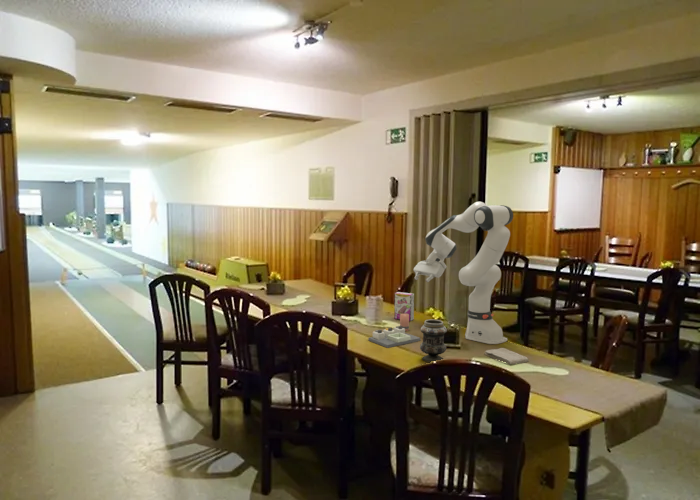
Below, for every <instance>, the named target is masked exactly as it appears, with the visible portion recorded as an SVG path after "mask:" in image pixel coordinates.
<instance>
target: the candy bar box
mask: <svg viewBox="0 0 700 500" xmlns="http://www.w3.org/2000/svg"><path fill="white" fill-rule="evenodd" d="M414 308H415V293H409V292H403V291H402V292H401V291H396V292H394V320H399V321H400V314H404V313H405V314H409V322H412V321H413V320H414V319H415V318H414V317H415V316H414V315H415V312H414V310H415V309H414Z"/></svg>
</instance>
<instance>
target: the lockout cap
mask: <svg viewBox="0 0 700 500" xmlns="http://www.w3.org/2000/svg"><path fill="white" fill-rule="evenodd" d="M399 326H402V328H404V329H405V332H408V331H410V321H409V314H405V313H404V314H400V320H399Z"/></svg>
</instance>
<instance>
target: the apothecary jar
mask: <svg viewBox="0 0 700 500" xmlns="http://www.w3.org/2000/svg"><path fill="white" fill-rule="evenodd" d="M447 331H448V329H447V328H446V326H445V325H444V321H442V320H440V319H432V318H431V319H425V320H424V324H423V325H421V327H420V332H421V334H422V336H423V337H422V342H421V343H420V345H419V349H420V351H421V352H422V353H424V354H426V355H424V356H422V357H421V360H422V361H424V362H427V363H431V361H436V360H441V359H444V357H443V356H441V355H442V354H444V353H445V352H446V351H447V345H446V344H445V343H444V342H445V341H444V340H445V335H446V333H447Z"/></svg>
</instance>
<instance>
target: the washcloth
mask: <svg viewBox="0 0 700 500" xmlns="http://www.w3.org/2000/svg"><path fill="white" fill-rule="evenodd" d="M484 354H485V355H484V356H487V357H489V356H490V357H489V358H490V359H494V360H495V359H497V360H496V361H498V360H500V361H503V362H506V363H508V364H513V365H516V363H517V364H524V363H528V362H529V358H528V357H526V356H525V355H522V354H519V353H517V352H516V351H512V350H510V349H508V348H506V347H500V348H496V349H494V348H492V349H487V350H485V351H484ZM500 361H499V362H500Z"/></svg>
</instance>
